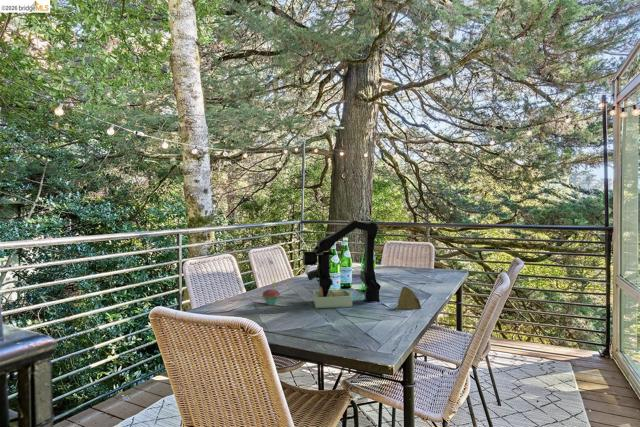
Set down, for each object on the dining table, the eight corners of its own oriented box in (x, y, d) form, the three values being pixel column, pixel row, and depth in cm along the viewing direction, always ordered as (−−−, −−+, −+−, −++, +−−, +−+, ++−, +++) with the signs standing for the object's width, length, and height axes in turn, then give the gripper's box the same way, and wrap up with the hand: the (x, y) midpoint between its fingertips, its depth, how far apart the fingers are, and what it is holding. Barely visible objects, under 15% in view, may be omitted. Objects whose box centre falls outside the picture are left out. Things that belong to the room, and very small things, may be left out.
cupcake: (283, 302, 203) (282, 278, 203) (274, 306, 196) (273, 282, 195) (268, 300, 207) (268, 277, 206) (259, 304, 199) (258, 280, 199)
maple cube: (332, 301, 203) (332, 291, 203) (342, 300, 204) (342, 291, 203) (333, 303, 198) (333, 293, 198) (344, 303, 199) (343, 293, 198)
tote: (347, 299, 208) (347, 289, 208) (352, 306, 195) (352, 296, 194) (313, 300, 206) (313, 290, 206) (315, 308, 193) (315, 297, 193)
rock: (425, 301, 194) (405, 296, 199) (423, 290, 189) (403, 284, 194) (416, 319, 187) (396, 313, 193) (414, 308, 182) (393, 301, 188)
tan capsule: (318, 297, 202) (318, 283, 202) (328, 297, 203) (328, 283, 202) (319, 300, 197) (319, 286, 197) (329, 300, 198) (329, 285, 197)
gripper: (306, 261, 208) (306, 292, 208) (308, 268, 189) (309, 301, 190) (327, 261, 209) (328, 291, 210) (332, 267, 190) (332, 300, 191)
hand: (324, 295), depth 200 cm, fingers closed on tan capsule, 5 cm apart
